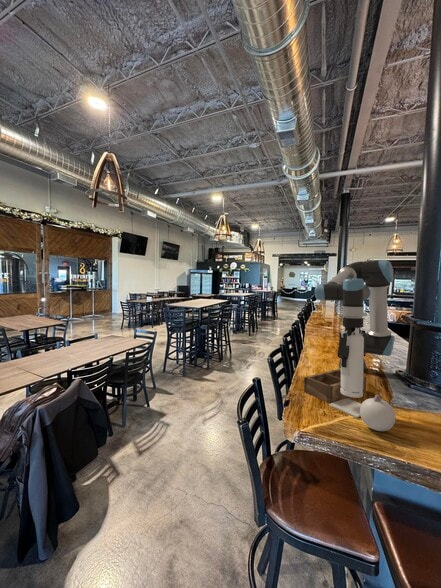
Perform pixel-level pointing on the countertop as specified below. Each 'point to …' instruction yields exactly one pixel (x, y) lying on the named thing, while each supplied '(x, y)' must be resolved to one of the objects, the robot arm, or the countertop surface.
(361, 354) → the bottle
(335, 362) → the countertop surface
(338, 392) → the carrier
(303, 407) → the countertop surface
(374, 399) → the ornament
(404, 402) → the countertop surface
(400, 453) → the countertop surface
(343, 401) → the coaster
